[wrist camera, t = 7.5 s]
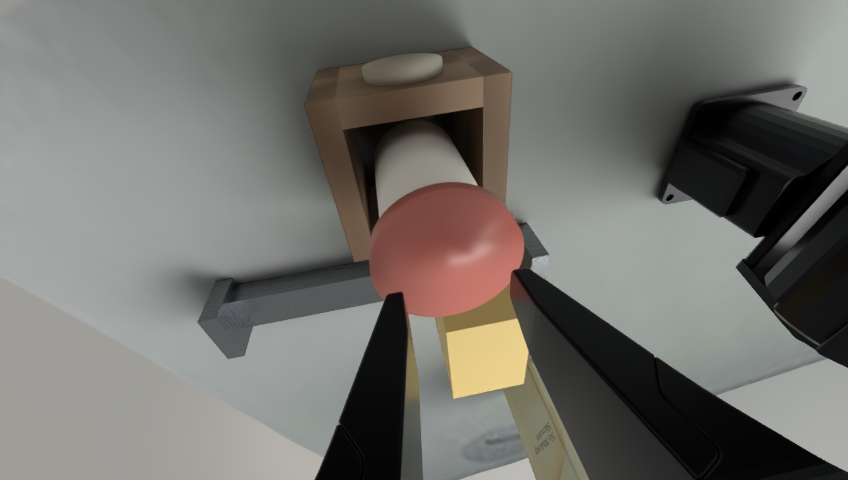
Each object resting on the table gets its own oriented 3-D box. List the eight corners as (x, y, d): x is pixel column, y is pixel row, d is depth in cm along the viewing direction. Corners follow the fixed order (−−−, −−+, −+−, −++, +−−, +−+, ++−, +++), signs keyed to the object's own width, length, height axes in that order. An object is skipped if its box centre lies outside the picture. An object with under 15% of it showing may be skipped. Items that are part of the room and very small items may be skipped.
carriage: (483, 219, 21) (533, 315, 15) (483, 286, 25) (523, 383, 19) (420, 231, 21) (446, 332, 15) (429, 296, 25) (453, 398, 19)
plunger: (462, 101, 14) (530, 183, 8) (466, 195, 16) (518, 301, 11) (353, 119, 13) (352, 215, 8) (375, 211, 16) (385, 328, 11)
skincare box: (521, 352, 32) (591, 513, 22) (563, 351, 33) (647, 503, 23) (501, 389, 36) (554, 540, 26) (539, 386, 37) (603, 530, 27)
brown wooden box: (472, 36, 15) (512, 58, 11) (474, 183, 20) (503, 234, 16) (314, 60, 15) (300, 92, 11) (354, 204, 19) (354, 262, 16)
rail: (527, 223, 22) (549, 255, 20) (523, 263, 25) (542, 296, 22) (215, 281, 21) (197, 322, 19) (241, 318, 23) (227, 358, 21)
